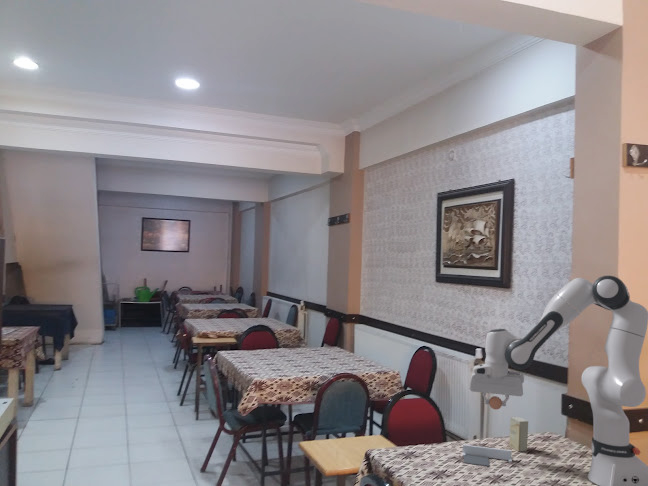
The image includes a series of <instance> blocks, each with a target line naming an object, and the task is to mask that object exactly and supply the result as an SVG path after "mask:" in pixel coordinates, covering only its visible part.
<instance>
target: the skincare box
mask: <svg viewBox="0 0 648 486" xmlns="http://www.w3.org/2000/svg"><path fill="white" fill-rule="evenodd" d="M509 421H510V422H509V423H510V425H509V439H508V440H509V444H508V445H509V446H508V447H510V448H511V449H512V450H515V451H517V452H527V451H528V434H529V433H528V432H529V420H527V419H525V418H522V417H520V416H510V420H509Z"/></svg>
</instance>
